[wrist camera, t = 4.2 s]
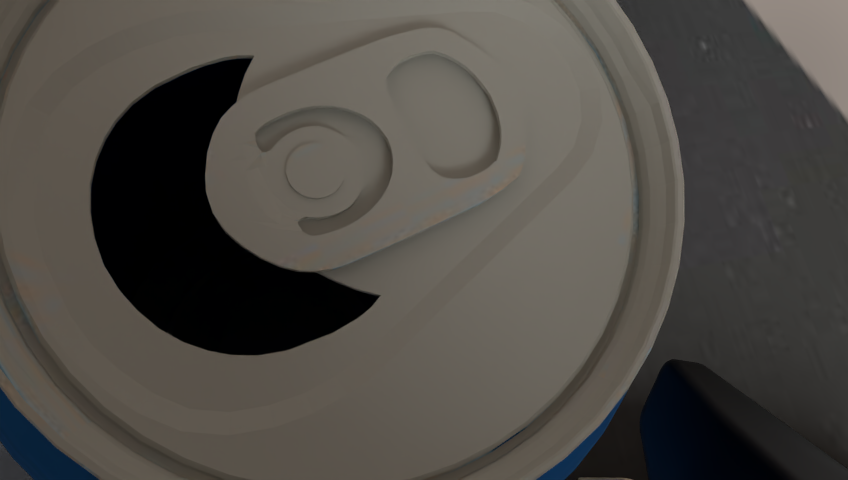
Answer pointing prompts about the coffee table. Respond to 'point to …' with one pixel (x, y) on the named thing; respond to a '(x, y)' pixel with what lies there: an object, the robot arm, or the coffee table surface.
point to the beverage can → (327, 236)
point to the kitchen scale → (595, 479)
